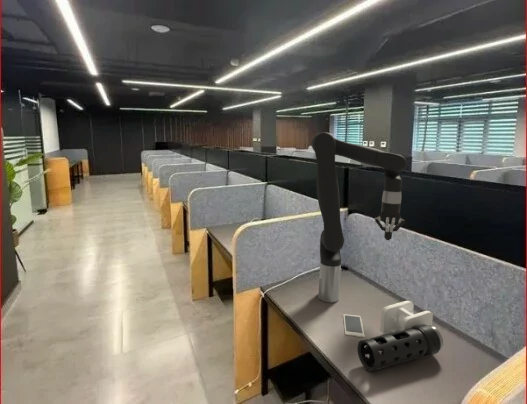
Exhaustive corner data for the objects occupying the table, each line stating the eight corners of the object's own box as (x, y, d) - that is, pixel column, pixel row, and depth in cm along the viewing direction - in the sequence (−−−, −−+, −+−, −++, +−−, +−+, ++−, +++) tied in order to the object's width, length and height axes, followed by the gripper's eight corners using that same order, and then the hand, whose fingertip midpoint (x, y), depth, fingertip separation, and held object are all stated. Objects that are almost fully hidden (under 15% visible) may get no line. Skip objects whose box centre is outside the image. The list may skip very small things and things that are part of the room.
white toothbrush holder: (400, 351, 108) (404, 321, 105) (378, 334, 117) (380, 306, 115) (430, 340, 114) (434, 311, 112) (406, 324, 123) (409, 298, 121)
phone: (345, 336, 116) (345, 333, 116) (343, 316, 130) (343, 313, 130) (364, 338, 115) (364, 336, 115) (360, 318, 128) (360, 315, 128)
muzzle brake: (355, 361, 103) (357, 333, 101) (420, 343, 112) (423, 317, 110) (374, 381, 94) (377, 351, 92) (443, 361, 103) (447, 333, 101)
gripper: (376, 202, 131) (372, 241, 134) (409, 203, 128) (405, 243, 131) (374, 198, 138) (371, 236, 142) (406, 200, 135) (401, 238, 139)
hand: (387, 239), depth 136 cm, fingers closed
